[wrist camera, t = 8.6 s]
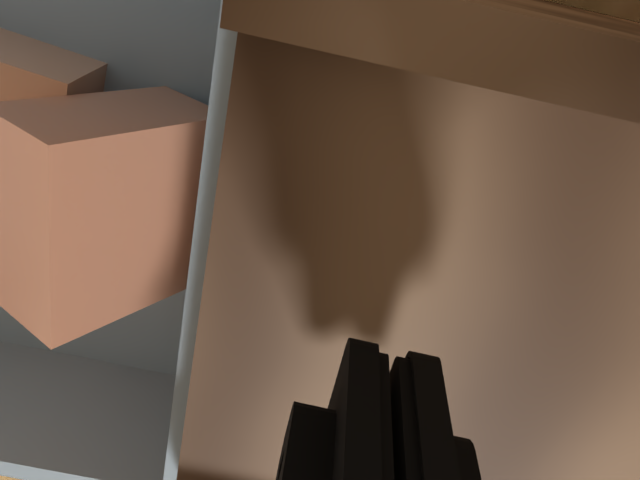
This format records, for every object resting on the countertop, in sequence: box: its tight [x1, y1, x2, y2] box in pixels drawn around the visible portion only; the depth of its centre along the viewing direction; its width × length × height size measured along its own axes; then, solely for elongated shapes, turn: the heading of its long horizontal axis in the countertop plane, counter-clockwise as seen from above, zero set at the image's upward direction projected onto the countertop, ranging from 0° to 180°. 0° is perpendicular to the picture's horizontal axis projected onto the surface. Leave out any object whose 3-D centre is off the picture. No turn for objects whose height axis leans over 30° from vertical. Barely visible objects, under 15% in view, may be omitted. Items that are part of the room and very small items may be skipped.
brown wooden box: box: [176, 0, 640, 480], centre depth 15 cm, size 14×14×9 cm
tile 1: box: [0, 86, 208, 350], centre depth 15 cm, size 5×5×2 cm
